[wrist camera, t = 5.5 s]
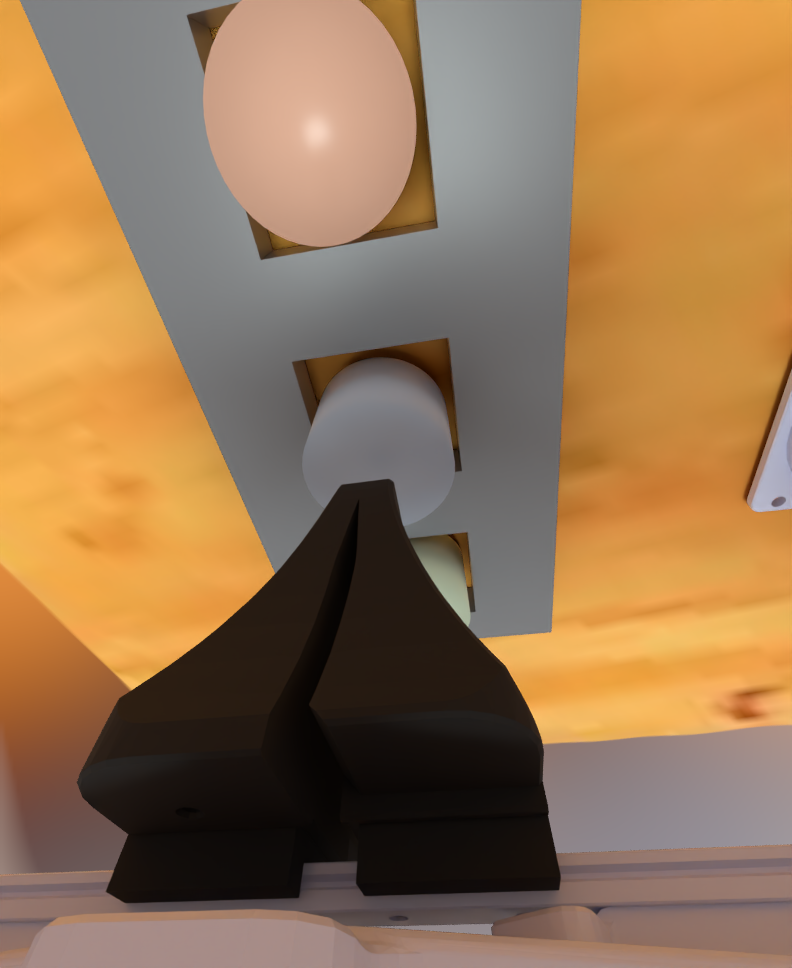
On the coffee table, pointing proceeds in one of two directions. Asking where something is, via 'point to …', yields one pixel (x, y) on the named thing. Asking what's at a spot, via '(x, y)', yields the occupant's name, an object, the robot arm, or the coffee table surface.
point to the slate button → (382, 436)
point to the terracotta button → (310, 117)
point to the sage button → (445, 570)
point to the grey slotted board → (359, 264)
